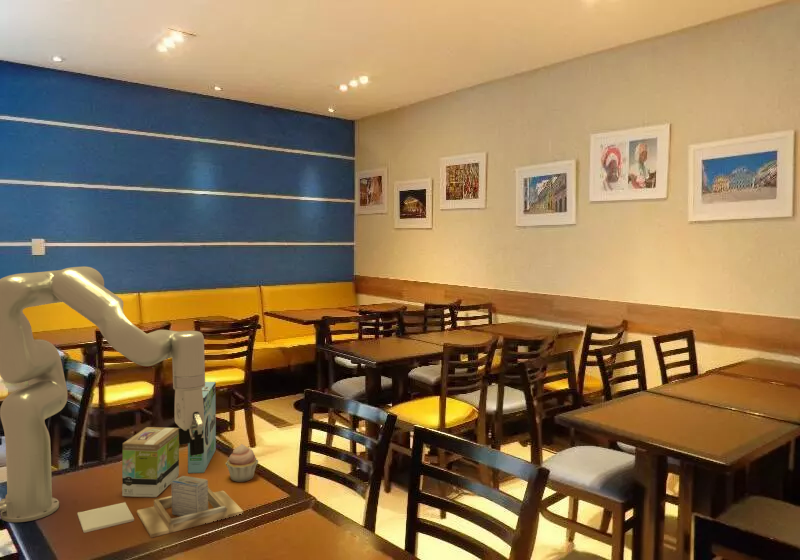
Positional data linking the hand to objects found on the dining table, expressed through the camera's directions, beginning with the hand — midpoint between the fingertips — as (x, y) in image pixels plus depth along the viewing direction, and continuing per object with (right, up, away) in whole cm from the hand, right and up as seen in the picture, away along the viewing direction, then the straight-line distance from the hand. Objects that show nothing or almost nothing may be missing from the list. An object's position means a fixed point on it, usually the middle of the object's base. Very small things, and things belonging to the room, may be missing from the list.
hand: (191, 448), depth 151 cm
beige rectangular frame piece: (-1, -17, +1) cm, 17 cm away
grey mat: (-21, -17, -2) cm, 26 cm away
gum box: (-9, -14, +37) cm, 40 cm away
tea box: (-17, -16, +18) cm, 29 cm away
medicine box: (-1, -17, +1) cm, 17 cm away
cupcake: (+6, -15, +24) cm, 29 cm away
